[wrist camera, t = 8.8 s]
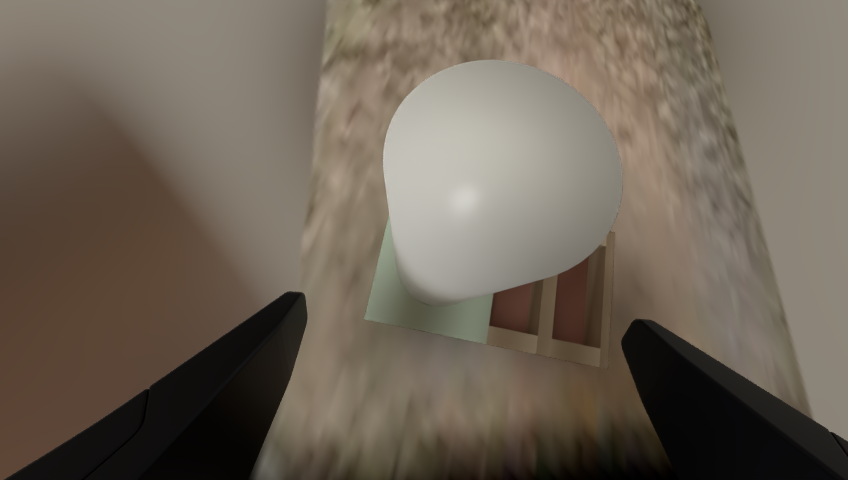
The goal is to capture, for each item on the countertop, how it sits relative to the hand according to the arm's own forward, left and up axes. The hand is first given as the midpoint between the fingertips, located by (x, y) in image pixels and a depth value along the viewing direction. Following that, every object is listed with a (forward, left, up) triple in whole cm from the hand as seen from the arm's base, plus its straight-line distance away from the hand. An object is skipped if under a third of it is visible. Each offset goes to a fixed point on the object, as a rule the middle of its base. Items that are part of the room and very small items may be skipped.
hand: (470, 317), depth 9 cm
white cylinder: (+2, +2, -9) cm, 10 cm away
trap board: (+4, 0, -11) cm, 12 cm away
